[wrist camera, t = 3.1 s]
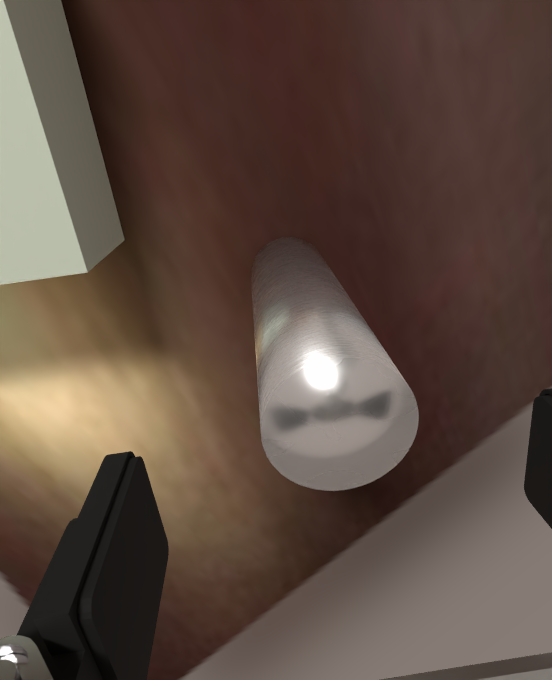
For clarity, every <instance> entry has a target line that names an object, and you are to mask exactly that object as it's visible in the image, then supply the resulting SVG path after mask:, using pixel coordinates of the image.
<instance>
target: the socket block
mask: <svg viewBox="0 0 552 680" xmlns="http://www.w3.org/2000/svg"><path fill="white" fill-rule="evenodd" d="M124 240H125V239H124V235H123V232H122V228H121V224H120V220H119V217H118V213H117V209H116V205H115V202H114V198H113V194H112V190H111V186H110V183H109V179H108V175H107V171H106V168H105V164H104V160H103V156H102V153H101V149H100V145H99V141H98V138H97V134H96V130H95V126H94V122H93V119H92V115H91V111H90V107H89V104H88V100H87V96H86V92H85V89H84V85H83V81H82V77H81V74H80V70H79V66H78V62H77V58H76V55H75V51H74V47H73V43H72V40H71V36H70V32H69V28H68V25H67V21H66V17H65V13H64V9H63V6H62V2H61V0H0V285H3V284H10V283H17V282H24V281H31V280H38V279H45V278H52V277H59V276H67V275H74V274H81V273H88V272H89V271H90V270H91V269H92V268H93V267H95V266H96V265H97V264H98V263H99V262H100V261H101V260H103V259H104V258H105V257H106V256H107V255H108V254H109V253H111V252H112V251H113V250H114V249H115V248H116V247H117V246H119V245H120V244H121V243H122V242H123V241H124Z"/></svg>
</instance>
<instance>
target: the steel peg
mask: <svg viewBox="0 0 552 680" xmlns="http://www.w3.org/2000/svg"><path fill="white" fill-rule="evenodd" d="M251 284H252V300H253V315H254V331H255V347H256V362H257V378H258V394H259V409H260V425H261V438H262V444H263V448H264V450H265V453H266V455H267V457H268V459H269V460H270V462H271V463H272V465H273V466H274V467H275V468H276V469H277V470H278V471H279V472H280V473H281V474H282V475H283V476H285V477H286V478H288V479H289V480H291V481H293V482H295V483H297V484H299V485H302V486H305V487H308V488H312V489H316V490H325V491H337V490H346V489H351V488H356V487H359V486H362V485H365V484H368V483H370V482H372V481H374V480H376V479H378V478H380V477H382V476H383V475H385V474H386V473H388V472H389V471H390V470H391V469H393V468H394V467H395V466H396V465H397V464H398V463H399V462H400V461H401V460H402V459H403V457H404V456H405V455H406V453H407V452H408V451H409V449H410V447H411V445H412V443H413V441H414V438H415V436H416V432H417V428H418V419H419V416H418V407H417V403H416V399H415V397H414V395H413V392H412V391H411V389H410V388H409V386H408V384H407V383H406V381H405V380H404V378H403V377H402V375H401V374H400V372H399V371H398V369H397V368H396V366H395V365H394V363H393V362H392V360H391V359H390V357H389V356H388V354H387V353H386V351H385V350H384V348H383V347H382V345H381V344H380V342H379V341H378V339H377V338H376V337H375V335H374V334H373V332H372V331H371V329H370V328H369V326H368V325H367V323H366V322H365V320H364V319H363V317H362V316H361V314H360V313H359V311H358V310H357V308H356V307H355V305H354V304H353V302H352V301H351V299H350V298H349V296H348V295H347V293H346V292H345V290H344V289H343V287H342V286H341V284H340V283H339V281H338V280H337V278H336V277H335V275H334V274H333V272H332V271H331V269H330V268H329V266H328V265H327V263H326V262H325V260H324V259H323V257H322V256H321V254H320V253H319V251H318V250H317V249H316V248H315V247H314V246H313V245H312V244H310V243H309V242H307V241H305V240H302V239H299V238H294V237H285V238H280V239H277V240H274V241H272V242H270V243H268V244H267V245H265V246H264V247H263V248H262V249H261V250H260V251H259V253H258V254H257V256H256V257H255V259H254V262H253V265H252V269H251Z"/></svg>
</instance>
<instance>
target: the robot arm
mask: <svg viewBox="0 0 552 680" xmlns="http://www.w3.org/2000/svg"><path fill="white" fill-rule="evenodd" d="M524 490H525V494H526V496H527V498H528V500H529V501H530V503H531V504H532V505H533V507H534V508H535V509H536V510H537V511H538V513H539V514H540V515H541V516H542V517H543V519H544V520H545V521H546V522H547V524H548V525H549V526H550V527H551V528H552V388H551V389H545V390H543V391H542V392H541V393H540V396H539V397H536V398H535V400H534V403H533V411H532V420H531V429H530V438H529V446H528V455H527V464H526V473H525V482H524ZM167 561H168V541H167V537H166V534H165V531H164V527H163V524H162V521H161V517H160V514H159V511H158V507H157V504H156V501H155V497H154V494H153V491H152V488H151V484H150V481H149V478H148V474H147V471H146V468H145V464H144V461H143V459H142V457H140V456H139V457H135V455H134V454H133V452H131V451H130V452H124V453H117V454H110V455H107V456H105V458H104V460H103V462H102V464H101V466H100V469H99V471H98V473H97V476H96V478H95V480H94V482H93V485H92V487H91V489H90V491H89V494H88V496H87V498H86V500H85V503H84V505H83V507H82V509H81V512H80V514H79V516H78V518H75V519H73V520H72V521H70V522H69V524H68V526H67V527H66V529H65V531H64V534H63V536H62V538H61V540H60V542H59V545H58V547H57V549H56V551H55V553H54V555H53V558H52V560H51V562H50V564H49V566H48V568H47V571H46V573H45V575H44V577H43V579H42V581H41V584H40V586H39V588H38V590H37V592H36V594H35V597H34V599H33V601H32V603H31V605H30V607H29V610H28V612H27V614H26V616H25V618H24V620H23V623H22V625H21V627H20V629H19V631H18V633H17V635H16V636H7V637H4V638H1V639H0V680H146V679H147V673H148V667H149V662H150V656H151V651H152V645H153V639H154V634H155V628H156V622H157V617H158V611H159V606H160V600H161V594H162V589H163V583H164V578H165V572H166V566H167ZM381 680H552V653H545V654H539V655H532V656H526V657H519V658H513V659H508V660H501V661H494V662H488V663H482V664H475V665H469V666H463V667H456V668H450V669H444V670H438V671H432V672H425V673H419V674H413V675H406V676H401V677H394V678H388V679H381Z"/></svg>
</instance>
